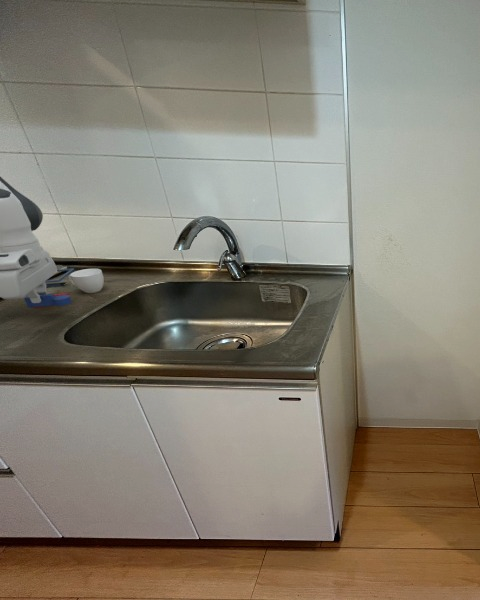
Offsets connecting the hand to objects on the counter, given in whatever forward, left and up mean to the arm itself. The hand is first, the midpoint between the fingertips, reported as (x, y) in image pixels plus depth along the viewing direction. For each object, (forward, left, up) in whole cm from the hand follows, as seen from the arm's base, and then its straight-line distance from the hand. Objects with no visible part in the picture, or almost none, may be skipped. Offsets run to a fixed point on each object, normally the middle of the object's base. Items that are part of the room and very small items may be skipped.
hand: (40, 299), depth 87 cm
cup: (+3, +20, -6) cm, 21 cm away
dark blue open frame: (-10, +32, -6) cm, 34 cm away
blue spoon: (+2, 0, -2) cm, 2 cm away
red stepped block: (-3, +11, -6) cm, 13 cm away
